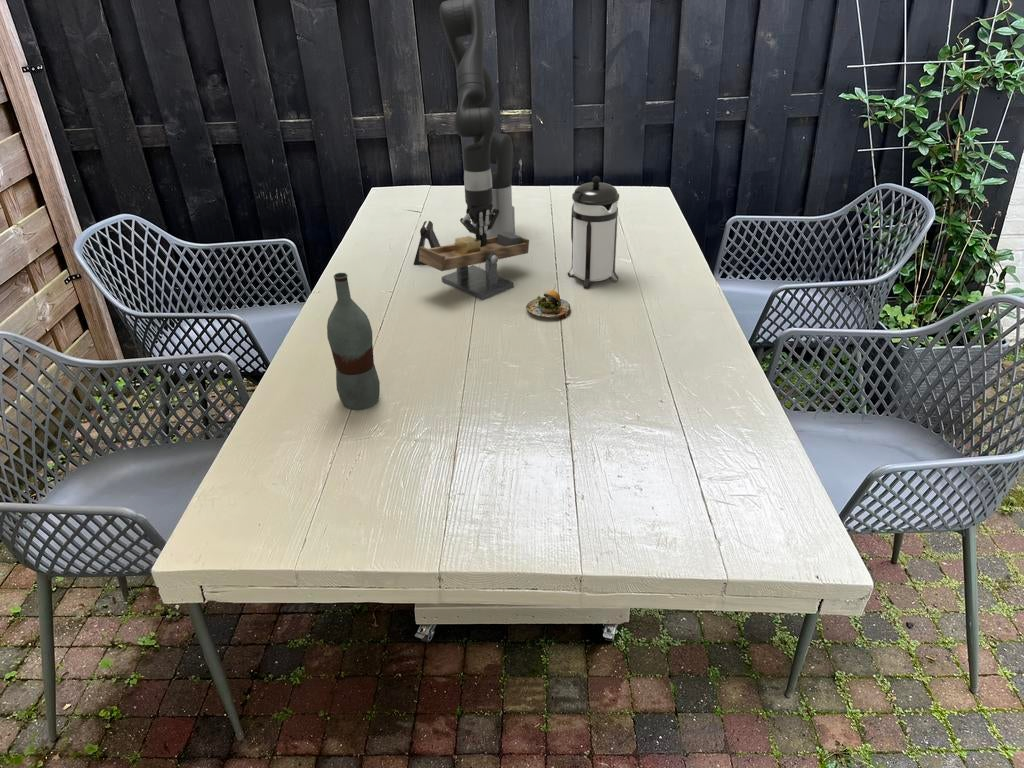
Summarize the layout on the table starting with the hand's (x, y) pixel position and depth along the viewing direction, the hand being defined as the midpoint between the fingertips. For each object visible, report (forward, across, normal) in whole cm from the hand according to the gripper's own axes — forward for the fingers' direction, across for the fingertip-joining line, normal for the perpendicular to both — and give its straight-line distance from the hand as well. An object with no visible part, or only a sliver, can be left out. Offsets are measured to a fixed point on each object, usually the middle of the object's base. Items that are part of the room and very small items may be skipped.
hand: (481, 245), depth 210 cm
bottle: (+11, +60, +28) cm, 67 cm away
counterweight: (+3, -10, 0) cm, 11 cm away
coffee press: (+12, -24, +20) cm, 33 cm away
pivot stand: (+11, +2, 0) cm, 11 cm away
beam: (+3, +2, 0) cm, 4 cm away
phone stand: (+12, +1, -24) cm, 27 cm away
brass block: (+1, +5, 0) cm, 5 cm away
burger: (+12, 0, +27) cm, 29 cm away
